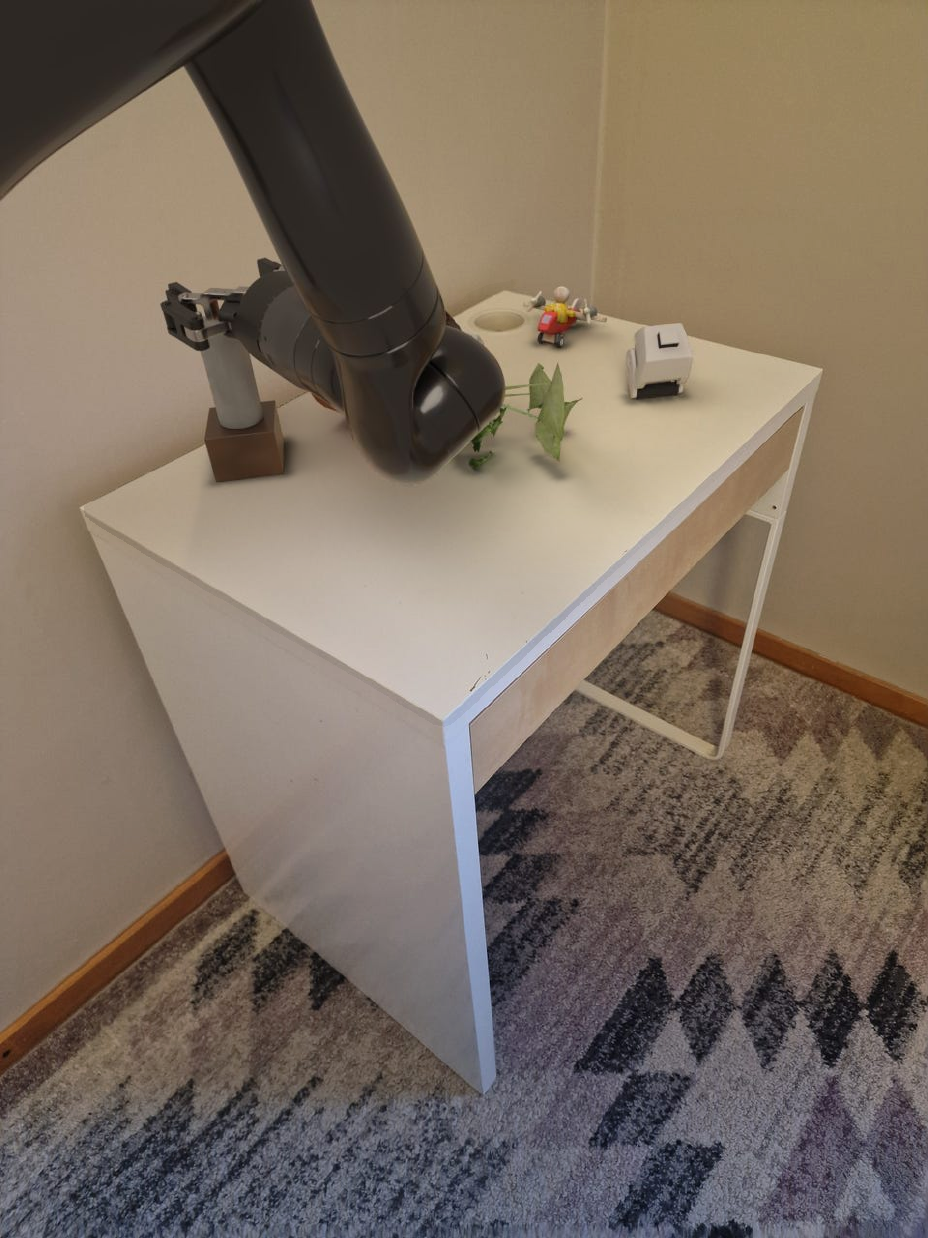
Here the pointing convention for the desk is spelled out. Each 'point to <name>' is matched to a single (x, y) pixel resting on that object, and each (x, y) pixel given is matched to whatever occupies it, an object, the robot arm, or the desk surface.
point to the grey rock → (476, 337)
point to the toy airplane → (560, 315)
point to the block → (245, 446)
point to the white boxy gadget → (659, 361)
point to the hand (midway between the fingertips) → (218, 281)
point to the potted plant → (541, 395)
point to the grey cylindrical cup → (232, 383)
